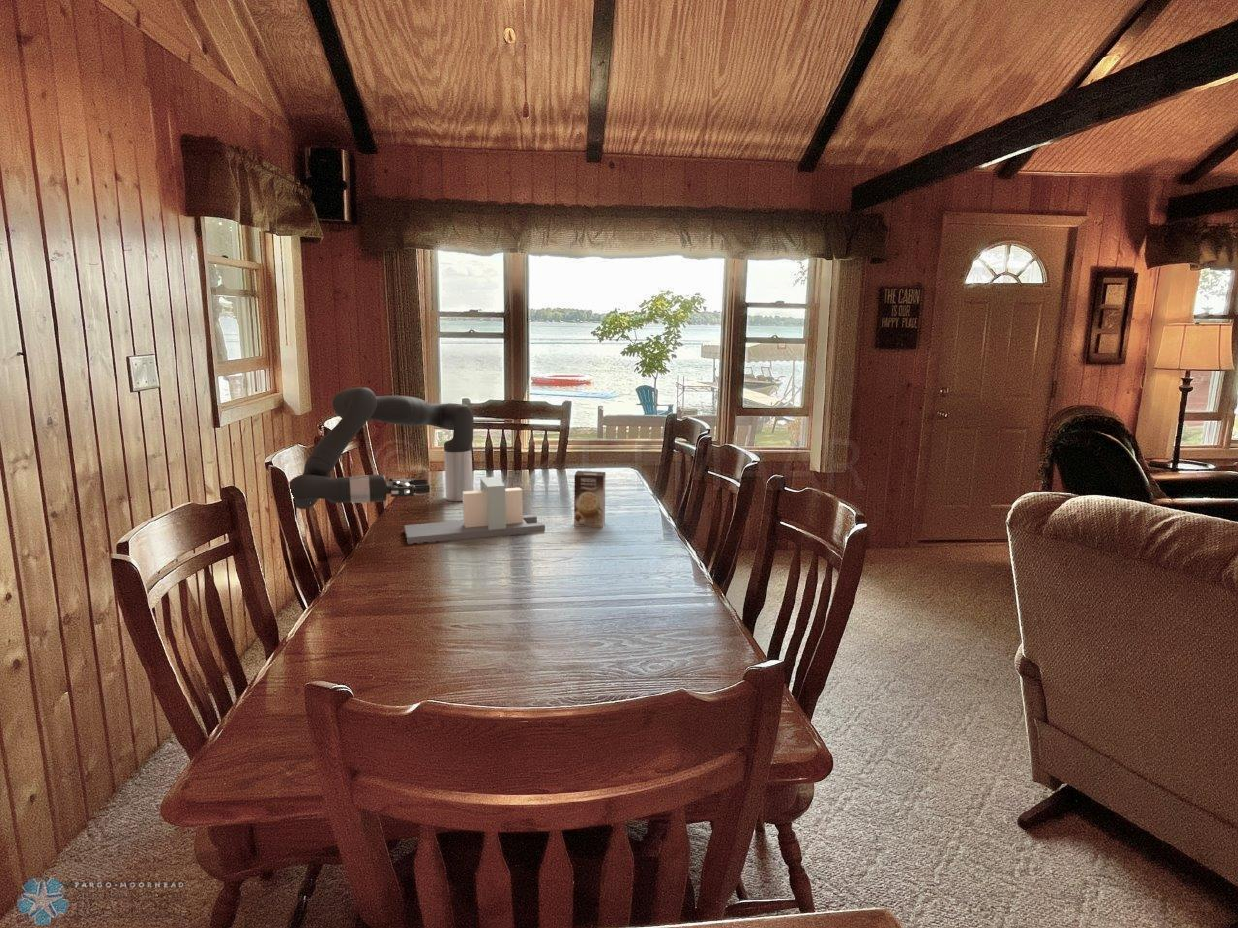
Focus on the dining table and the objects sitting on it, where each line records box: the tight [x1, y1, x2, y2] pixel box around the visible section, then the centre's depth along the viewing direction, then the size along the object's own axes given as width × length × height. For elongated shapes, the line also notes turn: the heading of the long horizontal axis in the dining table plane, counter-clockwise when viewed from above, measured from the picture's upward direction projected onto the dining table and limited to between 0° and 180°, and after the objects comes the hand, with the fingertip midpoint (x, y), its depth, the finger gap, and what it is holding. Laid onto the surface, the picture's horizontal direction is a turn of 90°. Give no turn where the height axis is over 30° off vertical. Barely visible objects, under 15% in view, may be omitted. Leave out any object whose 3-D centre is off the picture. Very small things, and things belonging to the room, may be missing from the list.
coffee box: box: [573, 470, 606, 528], centre depth 221 cm, size 9×6×16 cm
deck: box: [403, 513, 546, 545], centre depth 213 cm, size 13×39×2 cm, turn 110°
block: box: [462, 487, 524, 528], centre depth 214 cm, size 3×17×10 cm, turn 110°
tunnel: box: [479, 476, 506, 530], centre depth 214 cm, size 13×5×13 cm, turn 20°
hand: (428, 485), depth 206 cm, fingers open, 8 cm apart
